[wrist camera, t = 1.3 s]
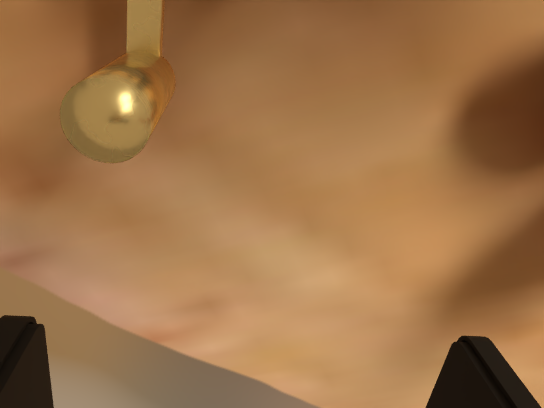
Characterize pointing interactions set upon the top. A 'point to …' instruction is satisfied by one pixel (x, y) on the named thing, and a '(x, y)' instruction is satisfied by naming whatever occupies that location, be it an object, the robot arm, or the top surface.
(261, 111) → the top surface
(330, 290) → the top surface
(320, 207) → the top surface
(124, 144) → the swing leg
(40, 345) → the robot arm
